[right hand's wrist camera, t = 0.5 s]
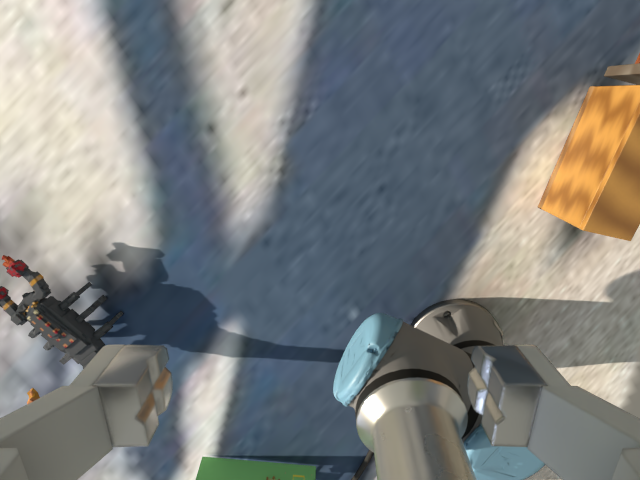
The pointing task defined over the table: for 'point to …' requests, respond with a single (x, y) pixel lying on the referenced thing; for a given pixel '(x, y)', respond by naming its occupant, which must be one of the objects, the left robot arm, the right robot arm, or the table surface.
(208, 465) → the toy game set
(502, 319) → the table surface
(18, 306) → the toy
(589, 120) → the cabinet
